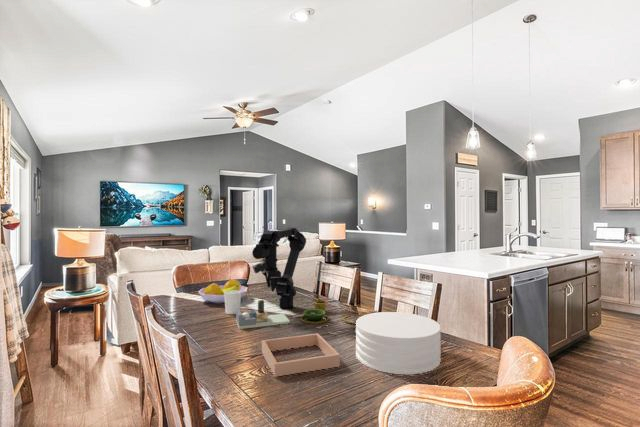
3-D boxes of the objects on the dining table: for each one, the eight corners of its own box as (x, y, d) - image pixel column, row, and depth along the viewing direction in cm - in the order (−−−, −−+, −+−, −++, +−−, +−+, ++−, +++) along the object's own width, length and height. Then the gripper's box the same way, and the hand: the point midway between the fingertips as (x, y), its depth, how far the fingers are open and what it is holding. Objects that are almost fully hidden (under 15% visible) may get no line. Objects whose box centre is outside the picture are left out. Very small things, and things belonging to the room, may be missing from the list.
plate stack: (426, 341, 136) (426, 311, 136) (453, 375, 108) (453, 337, 108) (352, 342, 136) (352, 311, 136) (360, 376, 108) (360, 338, 108)
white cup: (243, 310, 179) (242, 290, 179) (237, 315, 171) (237, 294, 171) (227, 310, 180) (227, 290, 180) (221, 314, 172) (221, 293, 172)
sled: (265, 316, 164) (265, 298, 163) (267, 320, 158) (267, 302, 158) (250, 318, 161) (250, 300, 161) (253, 322, 156) (253, 303, 156)
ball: (240, 312, 159) (240, 321, 159) (241, 314, 155) (242, 323, 155) (249, 310, 160) (249, 319, 160) (250, 313, 156) (251, 322, 156)
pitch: (283, 315, 169) (283, 304, 169) (290, 323, 158) (289, 310, 158) (235, 320, 162) (235, 308, 162) (239, 329, 151) (239, 315, 151)
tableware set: (288, 318, 168) (288, 304, 168) (334, 308, 185) (334, 295, 185) (347, 343, 135) (347, 327, 135) (396, 328, 152) (396, 314, 152)
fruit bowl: (195, 297, 206) (195, 278, 206) (242, 293, 218) (242, 274, 217) (201, 309, 181) (201, 287, 181) (254, 303, 192) (254, 282, 192)
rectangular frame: (318, 344, 133) (318, 333, 133) (339, 367, 114) (339, 354, 114) (261, 351, 126) (261, 340, 126) (274, 377, 107) (274, 364, 107)
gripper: (250, 255, 178) (250, 286, 178) (257, 259, 161) (257, 294, 161) (272, 254, 182) (272, 284, 182) (281, 258, 164) (281, 292, 165)
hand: (270, 289), depth 172 cm, fingers open, 9 cm apart
